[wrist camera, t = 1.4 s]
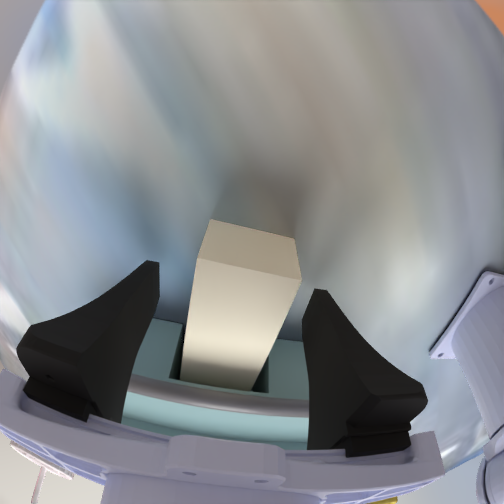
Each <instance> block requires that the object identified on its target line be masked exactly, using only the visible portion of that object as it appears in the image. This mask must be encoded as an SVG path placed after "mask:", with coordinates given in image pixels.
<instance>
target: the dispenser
mask: <svg viewBox="0 0 504 504" xmlns="http://www.w3.org/2000/svg"><path fill="white" fill-rule="evenodd" d="M182 330H183V324H180V323H175V322H170V321H165V320H160V319H155V318H153V319H152V321H151V323H150V325H149V328H148V330H147V332H146V335H145V337H144V339H143V342H142V344H141V346H140V349H139V351H138V354H137V356H136V359H135V363H134V366H133V370H132V374H131V378H130V382H129V386H128V390H127V394H126V399H125V404H124V409H123V415H122V421H121V424H123V425H127V426H130V427H134V428H138V429H142V430H145V431H150V432H154V433H158V434H162V435H167V436H172V437H174V436H178V435H196V436H203V437H209V438H217V439H224V440H232V441H242V442H253V443H265V444H271V445H276V446H278V447H280V448H282V449H284V450H307V441H308V426H309V381H308V373H307V366H306V359H305V353H304V346H303V342H300V341H291V340H282V339H276V340H275V342H274V344H273V346H272V348H271V350H270V352H269V354H268V357H267V359H266V361H265V363H264V365H263V367H262V369H261V371H260V373H259V375H258V377H257V379H256V381H255V383H254V385H253V387H252V389H251V391H241V390H234V389H226V388H220V387H213V386H207V385H201V384H195V383H190V382H185V381H180V372H181V364H182Z"/></svg>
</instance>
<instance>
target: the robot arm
mask: <svg viewBox="0 0 504 504" xmlns="http://www.w3.org/2000/svg"><path fill="white" fill-rule="evenodd" d="M159 297H160V291H159V262H154V261H148V260H147V261H145V262H144V263H143V264H141V265H140V266H139V267H138V268H137V269H135V270H134V271H133V272H132V273H131V274H129V275H128V276H127V277H126V278H124V279H123V280H122V281H121V282H119V283H118V284H117V285H115V286H114V287H113V288H111V289H110V290H109V291H107V292H106V293H104V294H103V295H101V296H100V297H98V298H97V299H95V300H93V301H91V302H90V303H88V304H86V305H84V306H82V307H80V308H78V309H76V310H74V311H72V312H70V313H67V314H65V315H62V316H60V317H57V318H54V319H51V320H48V321H44V322H41V323H37V324H34V325H31V326H30V327H29V329H28V330H27V332H26V333H25V335H24V336H23V338H22V340H21V341H20V343H19V344H18V346H17V348H16V350H17V355H18V357H19V360H20V361H21V363H22V365H23V366H24V368H25V370H26V371H27V373H28V375H29V376H30V377H29V379H28V381H27V382H26V381H25V380H24V379H23V378H21V377H19V376H17V375H16V374H14V373H12V372H10V371H8V370H6V369H3V370H2V371H1V373H0V431H1V432H2V433H3V434H4V435H5V436H6V437H8V438H9V439H11V440H13V441H14V442H16V443H18V444H19V445H21V446H23V447H25V448H26V449H28V450H30V451H32V452H33V453H35V454H37V455H39V456H41V457H43V458H45V459H46V460H48V461H50V462H52V463H54V464H56V465H58V466H60V467H62V468H64V469H66V470H68V471H71V472H73V473H75V474H77V475H79V476H82V477H84V478H86V479H89V480H91V481H94V482H96V483H99V484H101V485H104V486H105V487H104V491H103V495H102V500H101V504H366V503H371V502H375V501H380V500H384V499H388V498H392V497H396V496H400V495H404V494H407V493H411V492H414V491H416V490H418V489H420V488H422V487H424V486H426V485H428V484H430V483H432V482H434V481H436V480H437V479H439V478H441V477H443V476H444V475H445V470H444V466H443V462H442V458H441V455H440V451H439V447H438V444H437V440H436V437H435V433H434V431H429V432H423V433H418V434H414V435H412V436H410V437H409V433H408V431H409V430H411V424H410V421H412V420H413V419H414V418H415V417H416V416H417V415H418V414H420V413H421V412H422V411H423V409H424V408H425V407H426V405H427V403H428V399H427V396H426V393H425V390H424V388H423V385H422V384H421V383H420V382H418V381H416V380H415V379H413V378H411V377H409V376H408V375H406V374H405V373H403V372H402V371H400V370H399V369H398V368H396V367H395V366H393V365H392V364H391V363H390V362H388V361H387V360H386V359H385V358H384V357H382V356H381V355H380V354H379V353H378V352H377V351H376V350H375V349H374V348H373V347H372V346H371V345H370V344H369V343H368V342H367V341H366V340H365V339H364V338H363V337H362V336H361V335H360V334H359V332H358V331H357V330H356V329H355V328H354V326H353V325H352V324H351V323H350V321H349V320H348V319H347V317H346V316H345V315H344V313H343V312H342V311H341V309H340V308H339V306H338V305H337V304H336V302H335V301H334V299H333V298H332V297H331V295H330V294H329V293H328V291H327V290H321V289H314V291H313V294H312V296H311V299H310V301H309V304H308V306H307V309H306V311H305V314H304V316H303V319H302V339H303V346H304V353H305V359H306V366H307V373H308V381H309V426H308V441H307V450H284V449H282V448H280V447H278V446H276V445H271V444H265V443H253V442H242V441H232V440H224V439H217V438H209V437H203V436H196V435H178V436H174V437H172V436H167V435H162V434H158V433H154V432H150V431H145V430H142V429H138V428H134V427H130V426H127V425H123V424H121V421H122V415H123V409H124V404H125V399H126V394H127V390H128V386H129V382H130V378H131V374H132V370H133V366H134V363H135V359H136V356H137V354H138V351H139V349H140V346H141V344H142V342H143V339H144V337H145V335H146V332H147V330H148V328H149V325H150V323H151V321H152V319H153V316H154V314H155V310H156V307H157V304H158V300H159ZM429 356H430V358H431V359H451V358H457V361H458V363H459V365H460V367H461V369H462V371H463V373H464V376H465V378H466V380H467V382H468V385H469V387H470V389H471V392H472V394H473V396H474V399H475V401H476V404H477V406H478V409H479V411H480V414H481V416H482V419H483V422H484V424H485V427H486V430H487V433H488V436H489V439H490V441H489V442H488V443H487V444H485V445H484V446H483V447H482V448H483V451H484V454H485V456H484V458H483V459H482V461H481V463H480V466H479V469H478V473H477V481H476V495H477V500H478V503H479V504H504V275H502V274H498V273H494V272H490V271H486V272H484V273H483V274H482V275H481V277H480V278H479V280H478V282H477V284H476V285H475V287H474V289H473V290H472V292H471V294H470V295H469V297H468V298H467V300H466V302H465V303H464V305H463V306H462V308H461V309H460V311H459V312H458V314H457V315H456V317H455V318H454V320H453V321H452V323H451V324H450V325H449V327H448V328H447V330H446V331H445V332H444V334H443V335H442V337H441V338H440V339H439V341H438V342H437V343H436V345H435V346H434V347H433V348H432V350H431V351H430V353H429Z"/></svg>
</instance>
